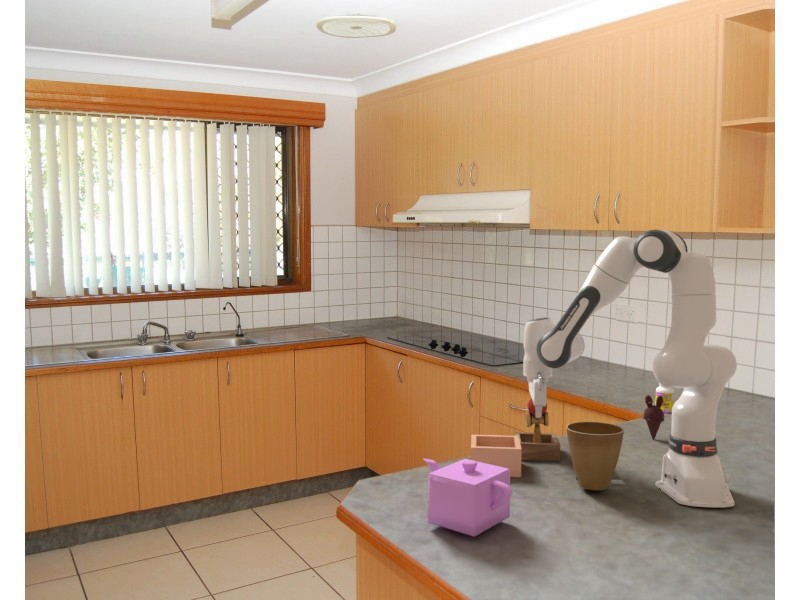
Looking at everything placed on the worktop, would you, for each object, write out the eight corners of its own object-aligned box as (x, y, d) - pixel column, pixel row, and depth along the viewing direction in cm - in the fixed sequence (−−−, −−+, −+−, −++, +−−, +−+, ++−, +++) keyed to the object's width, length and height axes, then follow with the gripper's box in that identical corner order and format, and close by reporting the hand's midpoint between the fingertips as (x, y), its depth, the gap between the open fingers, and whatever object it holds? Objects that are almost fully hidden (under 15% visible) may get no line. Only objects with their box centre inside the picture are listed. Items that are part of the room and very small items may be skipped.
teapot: (441, 498, 183) (441, 444, 182) (527, 521, 167) (528, 463, 166) (404, 515, 171) (404, 458, 170) (493, 542, 155) (493, 479, 154)
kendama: (521, 454, 221) (522, 398, 218) (526, 447, 226) (527, 392, 224) (546, 457, 218) (547, 400, 215) (550, 450, 223) (551, 395, 221)
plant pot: (634, 489, 189) (636, 429, 188) (594, 499, 181) (595, 437, 180) (593, 473, 202) (594, 418, 201) (553, 482, 194) (554, 424, 193)
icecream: (644, 442, 234) (645, 397, 233) (640, 436, 241) (641, 392, 240) (666, 443, 233) (667, 397, 232) (661, 437, 240) (662, 393, 239)
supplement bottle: (652, 414, 273) (653, 381, 272) (658, 411, 278) (659, 378, 277) (669, 417, 269) (670, 383, 268) (676, 413, 274) (677, 380, 273)
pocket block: (560, 461, 214) (560, 444, 213) (516, 459, 215) (516, 443, 215) (555, 448, 227) (555, 433, 226) (514, 447, 228) (514, 432, 228)
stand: (521, 477, 199) (521, 449, 198) (470, 475, 200) (470, 447, 200) (518, 462, 213) (518, 435, 212) (471, 460, 214) (471, 434, 213)
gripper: (551, 376, 208) (551, 422, 209) (545, 365, 228) (544, 407, 229) (529, 376, 209) (529, 422, 210) (525, 364, 229) (524, 407, 230)
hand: (537, 414), depth 220 cm, fingers closed on kendama, 6 cm apart
